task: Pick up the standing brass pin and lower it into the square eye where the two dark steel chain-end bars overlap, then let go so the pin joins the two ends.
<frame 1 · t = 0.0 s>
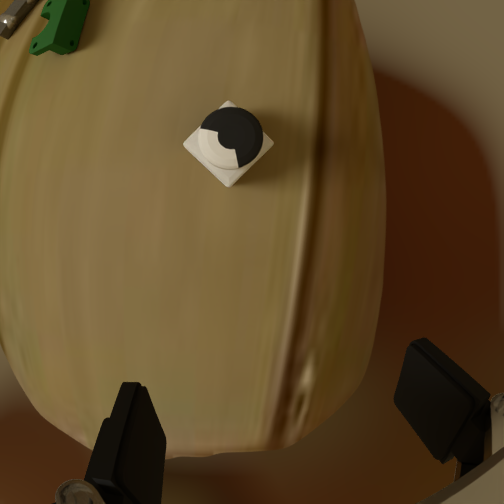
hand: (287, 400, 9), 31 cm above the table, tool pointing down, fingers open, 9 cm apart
clamp: (66, 31, 27), on the table
medicine bottle: (226, 149, 36), on the table
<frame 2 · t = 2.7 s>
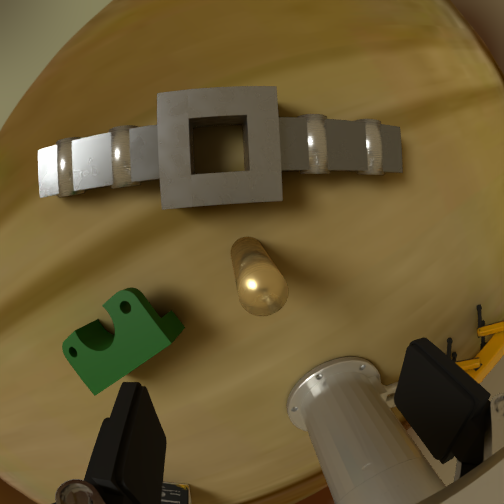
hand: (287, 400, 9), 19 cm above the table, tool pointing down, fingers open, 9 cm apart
clamp: (127, 324, 27), on the table
robot dog: (470, 324, 34), on the table
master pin: (247, 252, 27), on the table
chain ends: (218, 149, 24), on the table
medicine bottle: (170, 489, 36), on the table
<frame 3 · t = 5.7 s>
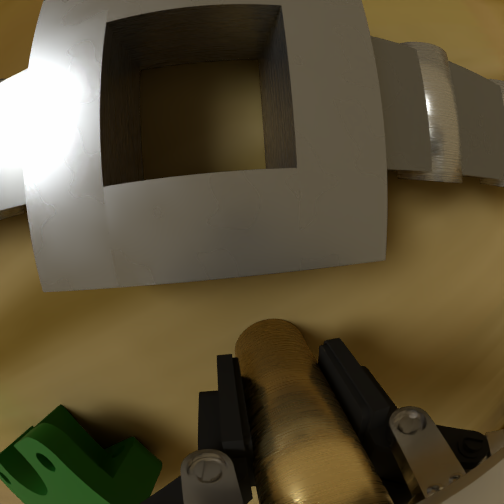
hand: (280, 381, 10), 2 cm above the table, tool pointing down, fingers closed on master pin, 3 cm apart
clamp: (74, 438, 13), on the table
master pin: (269, 349, 12), on the table, touching gripper
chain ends: (200, 115, 9), on the table
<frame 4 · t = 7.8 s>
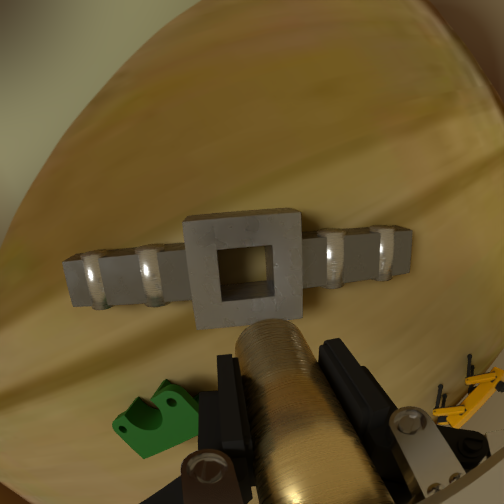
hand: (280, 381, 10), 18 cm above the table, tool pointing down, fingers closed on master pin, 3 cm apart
clamp: (165, 399, 30), on the table
robot dog: (460, 369, 37), on the table
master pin: (270, 348, 12), point 16 cm above the table, touching gripper
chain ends: (242, 260, 27), on the table
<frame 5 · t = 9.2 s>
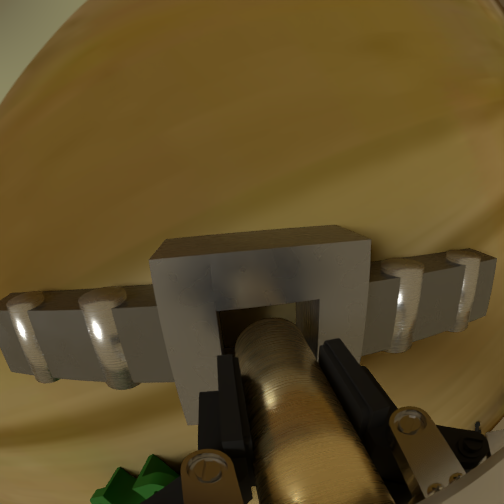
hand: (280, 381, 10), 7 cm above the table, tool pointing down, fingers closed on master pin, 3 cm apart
clamp: (155, 471, 20), on the table
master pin: (269, 348, 12), point 4 cm above the table, touching gripper
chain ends: (258, 311, 16), on the table
when the fingers open (5 cm above the table, at t = 10.2 s): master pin drops 3 cm, resting in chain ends.
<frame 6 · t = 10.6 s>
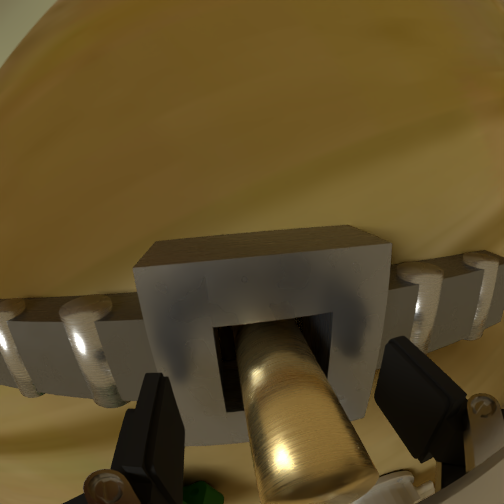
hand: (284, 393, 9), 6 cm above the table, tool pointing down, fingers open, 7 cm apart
clamp: (152, 483, 18), on the table
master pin: (261, 321, 14), resting in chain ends
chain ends: (260, 321, 14), on the table
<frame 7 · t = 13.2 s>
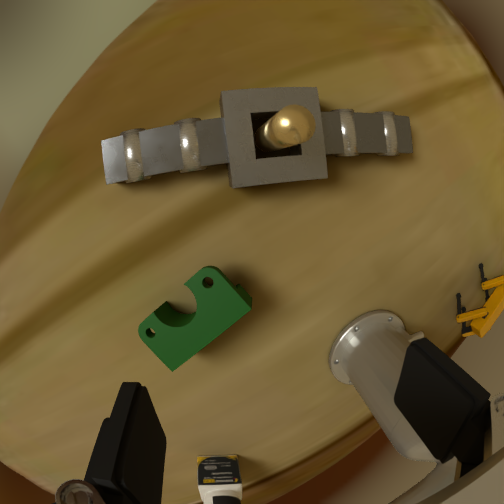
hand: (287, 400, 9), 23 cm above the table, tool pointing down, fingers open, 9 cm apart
clamp: (195, 302, 33), on the table
robot dog: (474, 281, 40), on the table
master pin: (268, 138, 29), resting in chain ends
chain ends: (268, 138, 29), on the table
medicine bottle: (217, 463, 42), on the table
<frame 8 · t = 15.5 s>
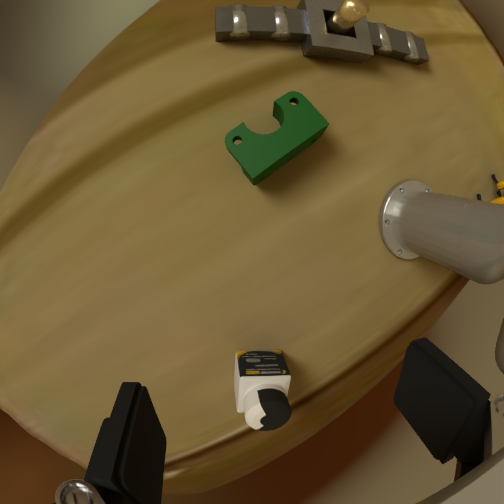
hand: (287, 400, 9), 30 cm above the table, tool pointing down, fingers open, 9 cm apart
clamp: (270, 140, 36), on the table
robot dog: (490, 190, 42), on the table
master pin: (329, 34, 32), resting in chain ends
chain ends: (329, 34, 32), on the table
medicine bottle: (256, 366, 44), on the table
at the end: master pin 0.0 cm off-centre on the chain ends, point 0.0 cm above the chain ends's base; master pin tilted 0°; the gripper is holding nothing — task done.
